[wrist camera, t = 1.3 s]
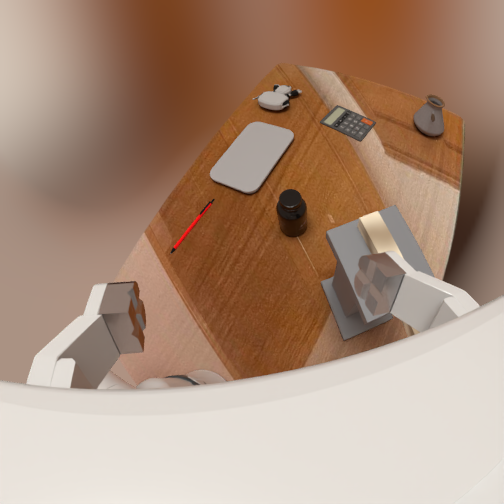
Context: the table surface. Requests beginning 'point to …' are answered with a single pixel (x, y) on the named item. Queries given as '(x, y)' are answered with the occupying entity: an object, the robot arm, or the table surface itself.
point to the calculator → (348, 122)
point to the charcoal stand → (347, 255)
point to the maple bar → (380, 243)
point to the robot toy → (277, 97)
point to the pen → (192, 225)
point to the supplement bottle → (292, 213)
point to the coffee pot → (430, 116)
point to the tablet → (252, 157)
